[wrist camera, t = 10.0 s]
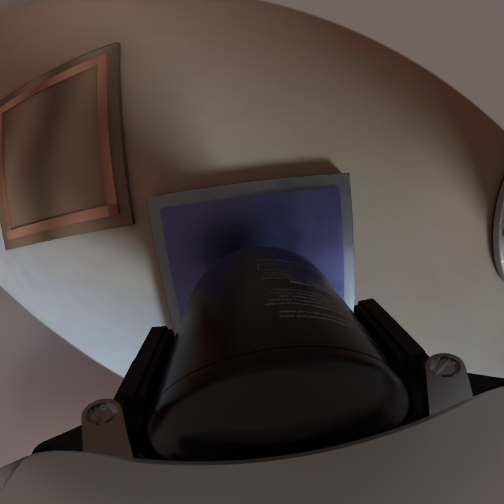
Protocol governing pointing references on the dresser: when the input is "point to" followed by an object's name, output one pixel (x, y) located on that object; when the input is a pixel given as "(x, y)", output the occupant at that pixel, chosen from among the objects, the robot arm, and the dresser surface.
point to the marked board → (64, 153)
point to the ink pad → (253, 229)
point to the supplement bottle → (270, 367)
